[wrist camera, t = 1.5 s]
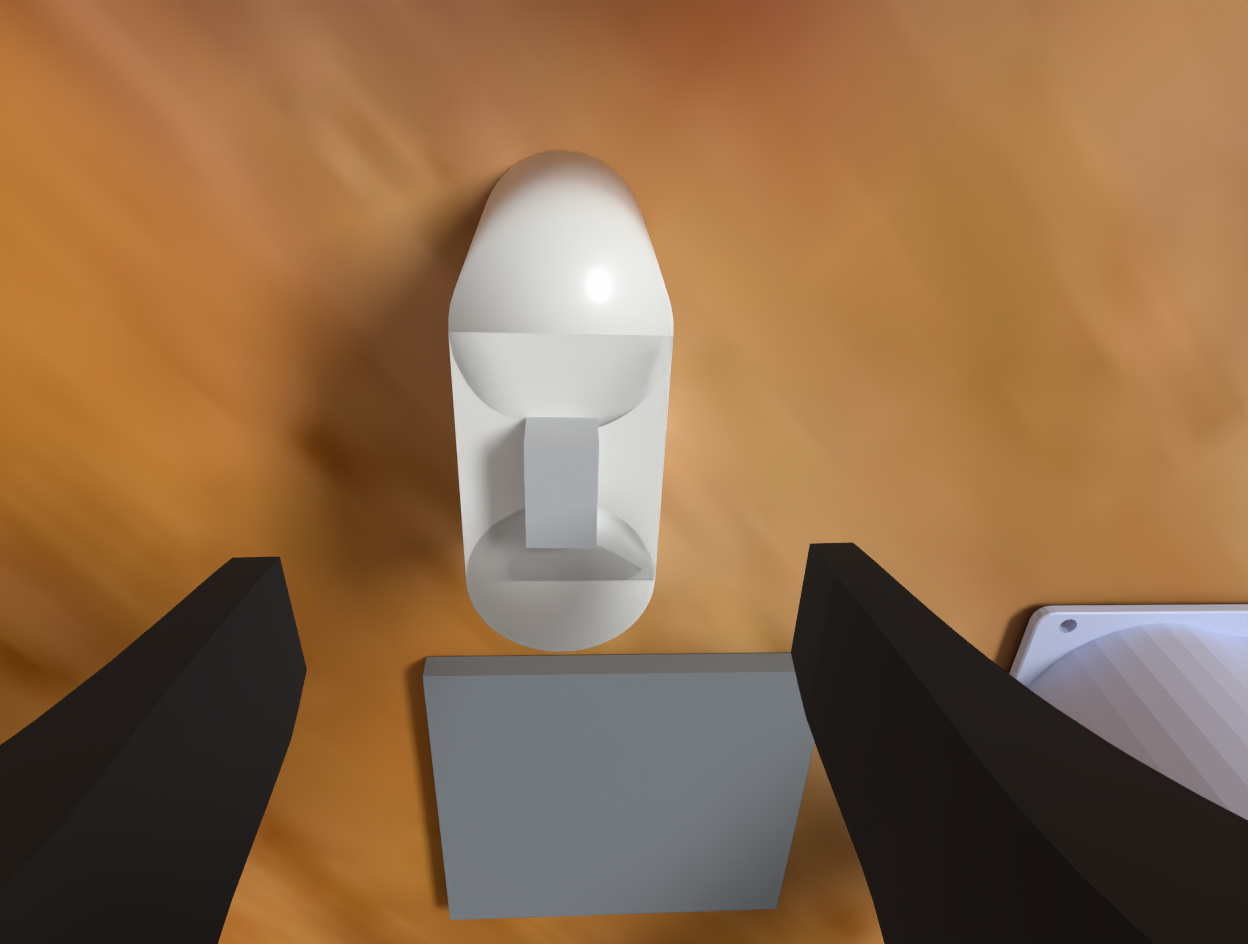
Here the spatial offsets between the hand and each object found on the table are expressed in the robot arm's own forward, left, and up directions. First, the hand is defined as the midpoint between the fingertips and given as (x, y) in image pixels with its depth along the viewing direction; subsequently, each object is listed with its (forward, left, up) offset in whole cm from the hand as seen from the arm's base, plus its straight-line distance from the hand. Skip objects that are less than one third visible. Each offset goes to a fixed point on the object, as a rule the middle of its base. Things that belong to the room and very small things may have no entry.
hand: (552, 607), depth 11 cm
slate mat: (-2, +16, -10) cm, 19 cm away
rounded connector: (0, 0, -10) cm, 10 cm away
